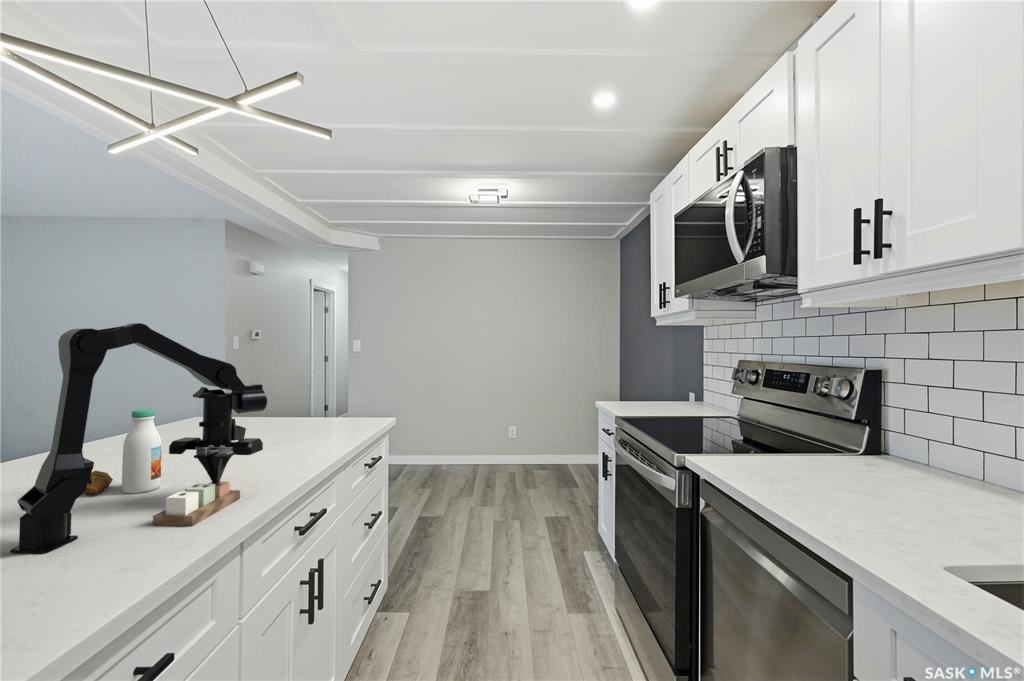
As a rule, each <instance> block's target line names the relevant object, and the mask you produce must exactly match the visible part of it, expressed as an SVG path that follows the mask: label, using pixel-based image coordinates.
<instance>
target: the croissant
mask: <svg viewBox="0 0 1024 681" xmlns="http://www.w3.org/2000/svg"><path fill="white" fill-rule="evenodd" d="M91 481H92V484H88V483H87V488H86V490H85V492H84V494H83V495H86V496H90V497H92V496H97V495H99V494H101V493H103V492H104V491H105V490H106V489H108V487H110V485H111V483H113V481H114V478H112V477H111V476H110V474H109V473H108V472H104V471H99V470H92V472H91Z"/></svg>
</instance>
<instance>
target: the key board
mask: <svg viewBox="0 0 1024 681" xmlns="http://www.w3.org/2000/svg"><path fill="white" fill-rule="evenodd" d="M239 500H241V490H237V489H234V490H232V489H230V492H229V493H227V494H225V495H223V496H221V497H215V500H214V501H212V502H210V503H208V504H206V505H204V506H198V509H197V510H195V511H193V512H191V513H189V514H187V515H166V509H164V510H162V511H159V512H158V513H155V514H154V515H152V526H156V527H157V526H160V527H163V526H165V527H193V526H195V525H197V524H199V523H200V522H202V521H204V520H205V519H207V518H209V517H211V516H213V515H214V514H216V513H218V512H220V511H221V510H223V509H225V508H226V507H228V506H229V505H233V503H235V502H237V501H239Z"/></svg>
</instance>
